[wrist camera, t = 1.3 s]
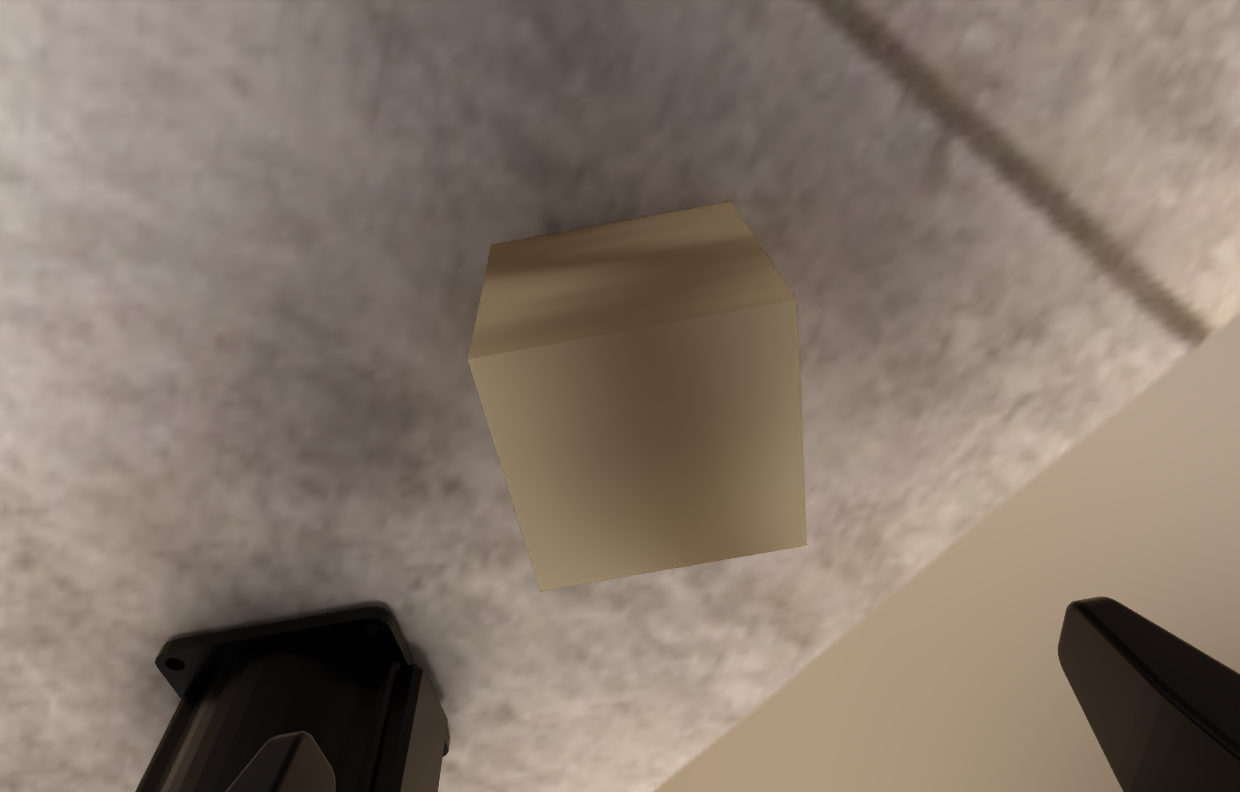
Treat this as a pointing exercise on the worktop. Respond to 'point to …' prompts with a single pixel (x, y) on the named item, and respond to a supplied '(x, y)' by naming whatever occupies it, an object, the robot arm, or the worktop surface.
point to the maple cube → (643, 395)
